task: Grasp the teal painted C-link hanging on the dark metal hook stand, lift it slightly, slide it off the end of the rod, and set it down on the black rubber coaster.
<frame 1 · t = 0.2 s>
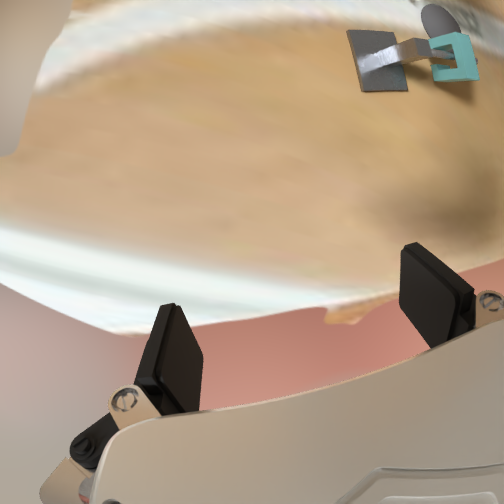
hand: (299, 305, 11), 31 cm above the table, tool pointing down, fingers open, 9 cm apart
coaster: (442, 27, 28), on the table
stand: (382, 60, 32), on the table
link: (436, 61, 29), point 3 cm above the table, touching stand
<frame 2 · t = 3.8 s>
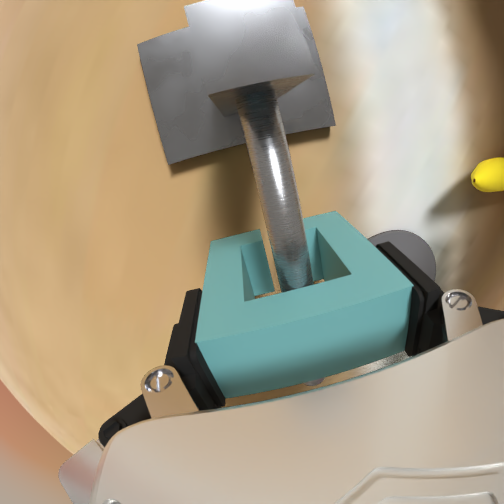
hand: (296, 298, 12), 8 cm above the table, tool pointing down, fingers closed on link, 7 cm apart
coaster: (385, 288, 21), on the table
banana: (498, 169, 18), on the table
stand: (239, 94, 15), on the table
link: (279, 250, 16), point 3 cm above the table, touching gripper, stand
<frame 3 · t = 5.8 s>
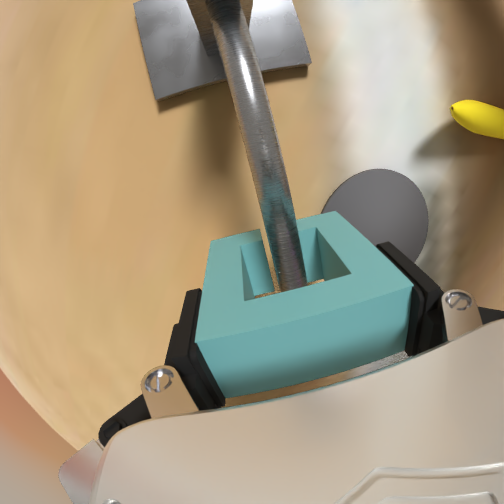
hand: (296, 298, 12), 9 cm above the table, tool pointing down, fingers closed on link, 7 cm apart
coaster: (376, 232, 21), on the table
banana: (484, 120, 17), on the table
stand: (222, 40, 15), on the table
link: (279, 250, 16), point 5 cm above the table, touching gripper
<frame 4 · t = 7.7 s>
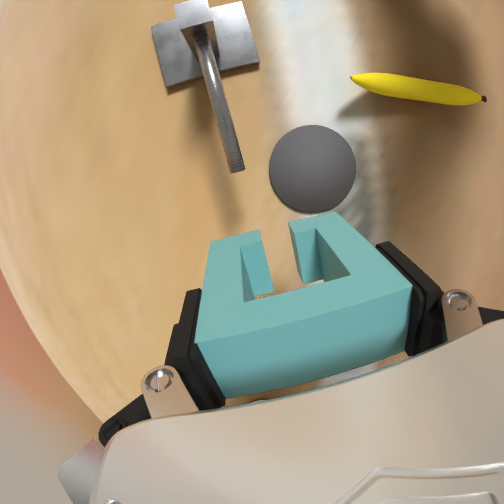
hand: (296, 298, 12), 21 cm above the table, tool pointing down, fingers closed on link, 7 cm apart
coaster: (313, 169, 31), on the table
banana: (403, 89, 27), on the table
stand: (206, 50, 24), on the table
link: (279, 250, 16), point 17 cm above the table, touching gripper
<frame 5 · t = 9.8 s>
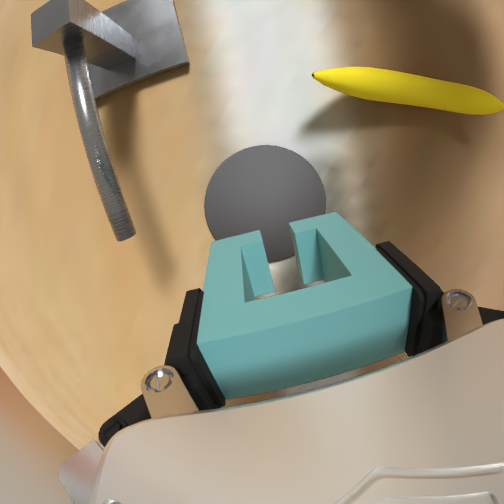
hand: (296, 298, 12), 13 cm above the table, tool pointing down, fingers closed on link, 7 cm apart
coaster: (265, 205, 23), on the table
banana: (398, 90, 20), on the table
stand: (123, 54, 17), on the table
link: (279, 251, 16), point 8 cm above the table, touching gripper
when the fingers open (6 cm above the table, at t = 11.7 s): link stays where it is, resting on coaster.
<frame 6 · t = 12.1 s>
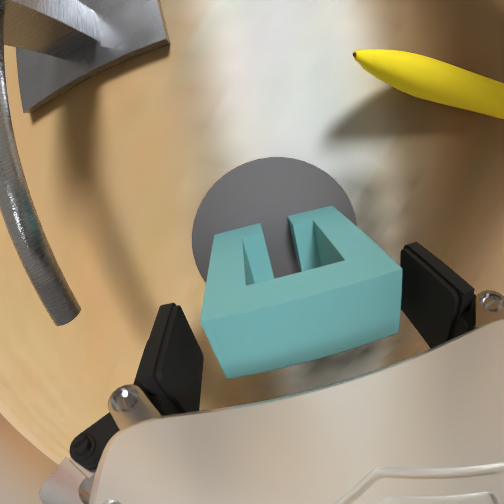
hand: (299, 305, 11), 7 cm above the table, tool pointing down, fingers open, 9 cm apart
coaster: (276, 241, 17), on the table
banana: (445, 89, 13), on the table
stand: (84, 37, 11), on the table
link: (279, 243, 17), resting on coaster
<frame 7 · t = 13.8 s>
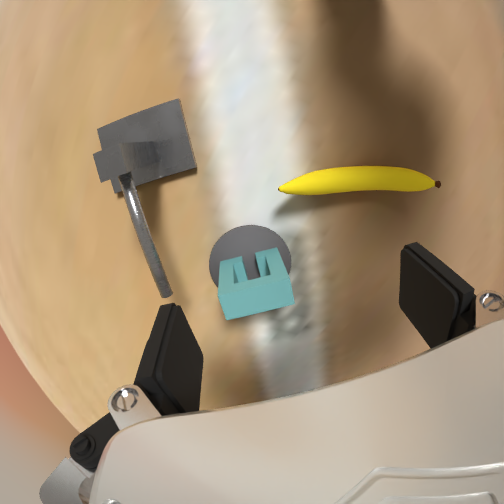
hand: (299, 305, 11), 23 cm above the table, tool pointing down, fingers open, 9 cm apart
coaster: (250, 264, 35), on the table
banana: (348, 176, 32), on the table
stand: (148, 154, 29), on the table
link: (251, 265, 35), resting on coaster
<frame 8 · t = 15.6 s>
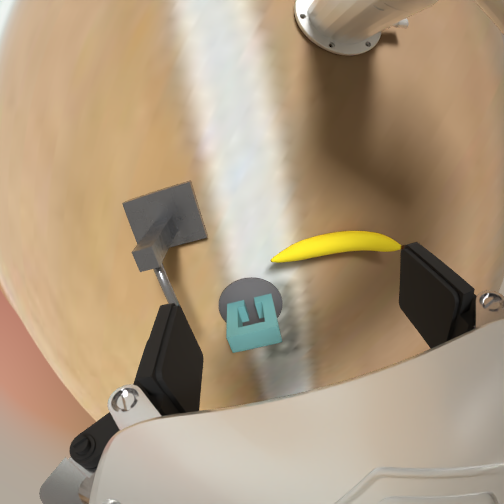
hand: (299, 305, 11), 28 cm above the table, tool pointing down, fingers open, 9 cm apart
coaster: (250, 305, 45), on the table
banana: (330, 237, 41), on the table
stand: (167, 224, 39), on the table
link: (251, 306, 45), resting on coaster
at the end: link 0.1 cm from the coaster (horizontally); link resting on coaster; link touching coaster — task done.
